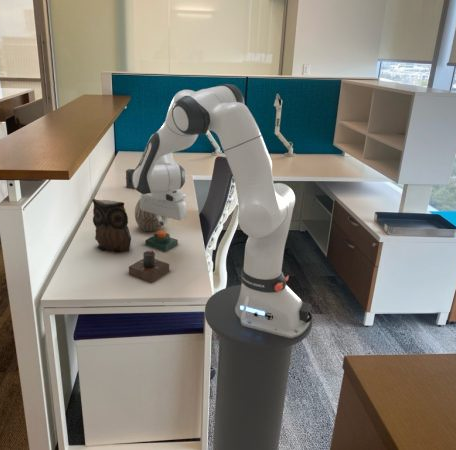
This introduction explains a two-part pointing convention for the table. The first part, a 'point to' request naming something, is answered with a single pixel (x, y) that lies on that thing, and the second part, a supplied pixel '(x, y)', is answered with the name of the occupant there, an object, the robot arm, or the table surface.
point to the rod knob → (149, 259)
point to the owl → (111, 226)
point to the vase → (146, 219)
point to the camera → (129, 178)
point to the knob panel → (149, 270)
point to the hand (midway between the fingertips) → (162, 225)
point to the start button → (161, 234)
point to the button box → (162, 242)
